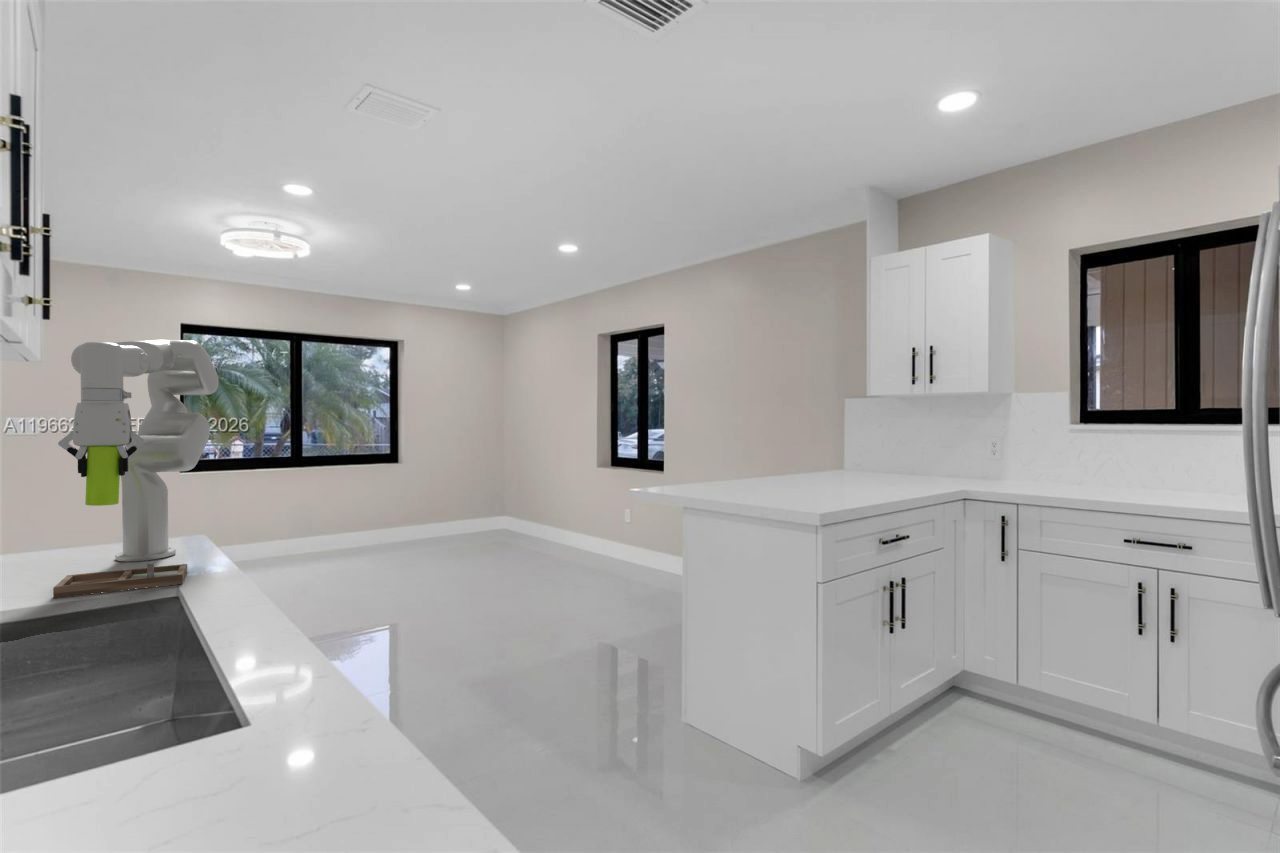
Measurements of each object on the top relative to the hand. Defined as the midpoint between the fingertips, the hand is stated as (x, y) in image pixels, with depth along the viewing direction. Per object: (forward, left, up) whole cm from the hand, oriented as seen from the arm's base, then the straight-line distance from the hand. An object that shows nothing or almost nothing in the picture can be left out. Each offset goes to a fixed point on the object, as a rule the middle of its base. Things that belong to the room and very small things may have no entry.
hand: (103, 475), depth 148 cm
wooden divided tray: (+10, +5, -24) cm, 26 cm away
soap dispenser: (0, 0, -7) cm, 7 cm away
